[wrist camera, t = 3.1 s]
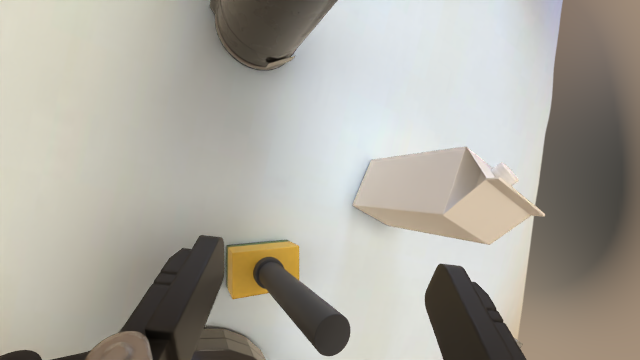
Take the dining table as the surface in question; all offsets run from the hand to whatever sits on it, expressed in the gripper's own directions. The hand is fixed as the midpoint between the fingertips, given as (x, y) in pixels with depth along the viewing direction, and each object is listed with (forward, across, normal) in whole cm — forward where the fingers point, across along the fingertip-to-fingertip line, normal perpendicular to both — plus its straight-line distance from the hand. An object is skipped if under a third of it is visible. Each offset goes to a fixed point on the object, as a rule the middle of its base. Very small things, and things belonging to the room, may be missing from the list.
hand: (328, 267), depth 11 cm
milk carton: (+27, -9, +12) cm, 31 cm away
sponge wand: (+16, +6, +17) cm, 24 cm away
